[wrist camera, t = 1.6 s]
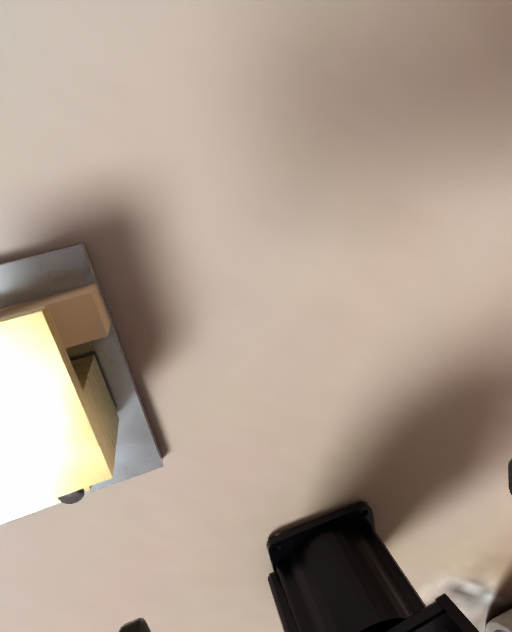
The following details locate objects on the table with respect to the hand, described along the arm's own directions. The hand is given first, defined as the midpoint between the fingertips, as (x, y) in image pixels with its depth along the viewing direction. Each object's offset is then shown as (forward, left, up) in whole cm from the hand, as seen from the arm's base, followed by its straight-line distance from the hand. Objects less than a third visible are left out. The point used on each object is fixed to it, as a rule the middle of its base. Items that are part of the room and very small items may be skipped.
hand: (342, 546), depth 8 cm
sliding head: (+8, -1, -11) cm, 14 cm away
